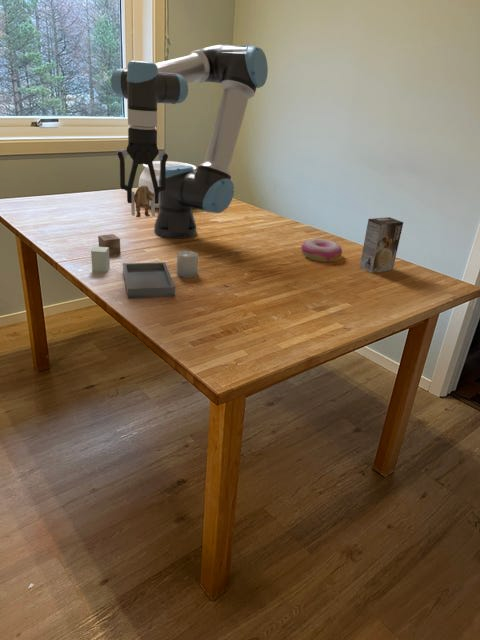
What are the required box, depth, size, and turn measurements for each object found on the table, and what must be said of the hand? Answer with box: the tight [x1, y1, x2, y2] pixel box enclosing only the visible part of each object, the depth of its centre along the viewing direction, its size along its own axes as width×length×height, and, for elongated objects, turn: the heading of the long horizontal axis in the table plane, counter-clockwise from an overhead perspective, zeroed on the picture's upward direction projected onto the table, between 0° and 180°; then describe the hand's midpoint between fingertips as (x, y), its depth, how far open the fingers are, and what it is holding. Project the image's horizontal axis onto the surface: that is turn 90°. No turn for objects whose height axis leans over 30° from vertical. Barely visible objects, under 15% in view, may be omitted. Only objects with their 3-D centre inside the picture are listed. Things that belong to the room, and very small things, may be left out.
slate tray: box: [122, 261, 176, 299], centre depth 130 cm, size 12×18×3 cm, turn 16°
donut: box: [300, 238, 343, 263], centre depth 161 cm, size 14×13×5 cm
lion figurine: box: [134, 186, 155, 218], centre depth 137 cm, size 15×5×9 cm, turn 17°
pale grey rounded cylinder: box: [176, 250, 199, 279], centre depth 138 cm, size 6×6×6 cm
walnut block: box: [97, 233, 122, 256], centre depth 149 cm, size 5×5×5 cm
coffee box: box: [359, 216, 404, 274], centre depth 152 cm, size 9×6×16 cm
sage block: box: [90, 245, 111, 273], centre depth 136 cm, size 4×4×6 cm
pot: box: [138, 160, 197, 209], centre depth 206 cm, size 29×26×16 cm
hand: (143, 214), depth 137 cm, fingers closed on lion figurine, 5 cm apart
